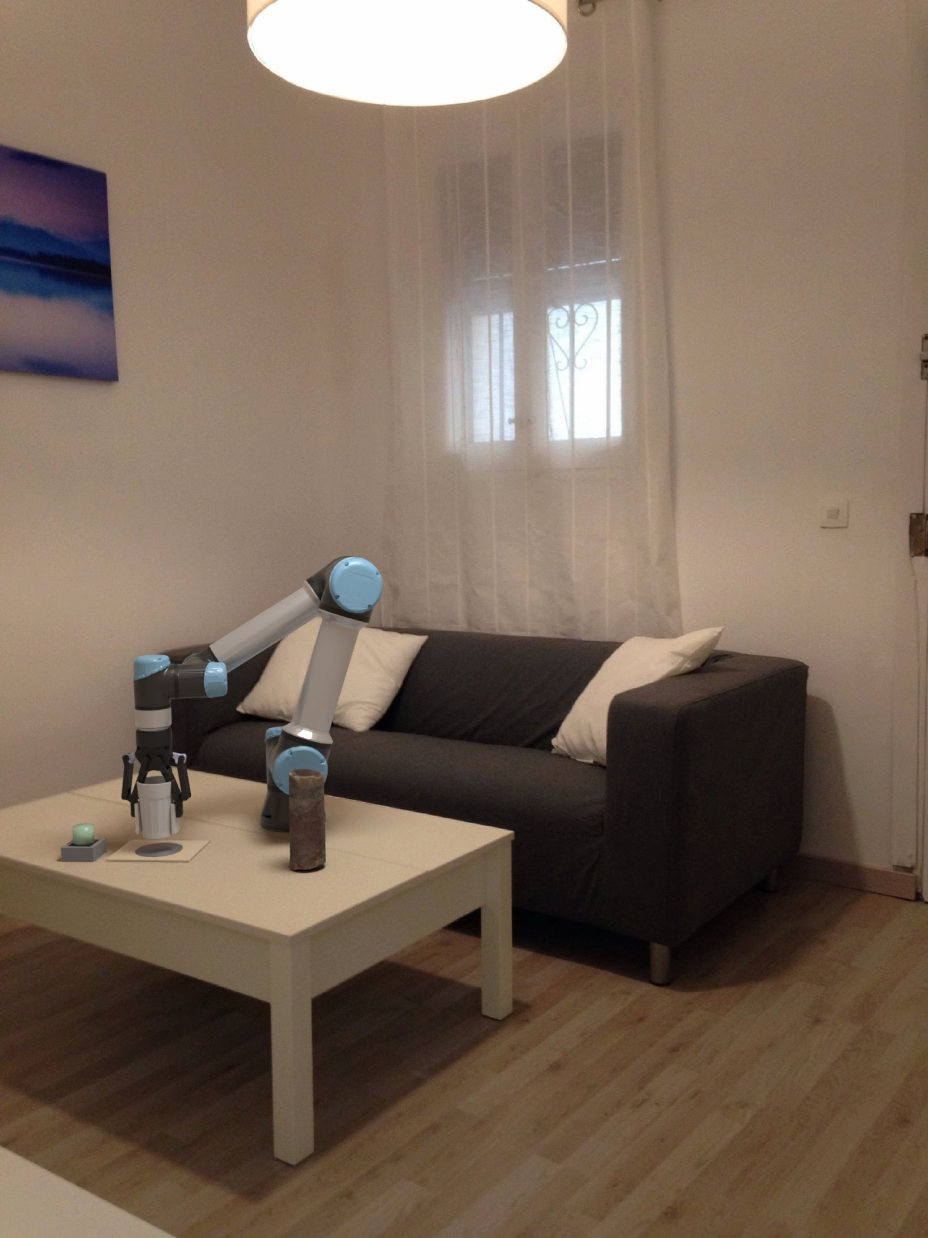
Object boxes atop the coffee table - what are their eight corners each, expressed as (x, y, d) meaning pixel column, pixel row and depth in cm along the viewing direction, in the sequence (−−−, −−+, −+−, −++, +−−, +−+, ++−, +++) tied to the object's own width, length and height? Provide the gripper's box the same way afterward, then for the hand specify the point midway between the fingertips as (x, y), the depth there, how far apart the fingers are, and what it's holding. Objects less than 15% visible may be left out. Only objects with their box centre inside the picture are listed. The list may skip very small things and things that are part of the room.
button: (97, 839, 241) (97, 823, 241) (89, 845, 237) (88, 829, 236) (78, 839, 241) (77, 823, 241) (69, 845, 237) (68, 829, 237)
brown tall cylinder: (310, 859, 235) (307, 765, 233) (334, 865, 231) (331, 770, 229) (282, 868, 229) (279, 772, 227) (306, 875, 225) (303, 778, 223)
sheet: (209, 842, 248) (209, 840, 248) (188, 862, 234) (188, 860, 234) (131, 841, 250) (131, 839, 250) (105, 861, 236) (105, 859, 236)
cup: (166, 840, 237) (164, 785, 236) (131, 839, 239) (129, 783, 237) (183, 830, 245) (181, 776, 244) (149, 828, 246) (147, 775, 245)
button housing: (106, 851, 243) (106, 838, 242) (93, 862, 236) (92, 848, 235) (75, 851, 243) (75, 838, 243) (61, 861, 236) (60, 847, 236)
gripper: (205, 724, 242) (208, 827, 244) (115, 723, 244) (119, 826, 246) (193, 731, 235) (197, 837, 237) (100, 730, 237) (105, 836, 239)
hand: (157, 831), depth 242 cm, fingers closed on cup, 7 cm apart
